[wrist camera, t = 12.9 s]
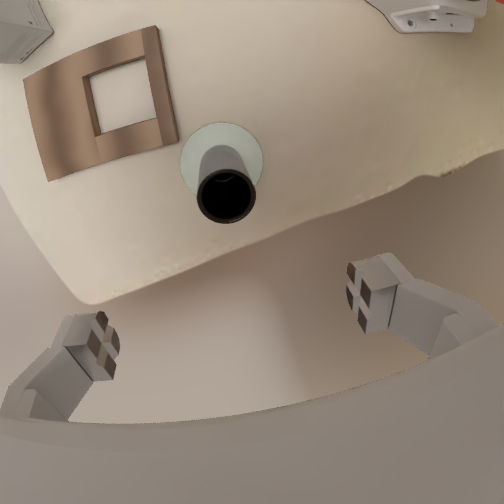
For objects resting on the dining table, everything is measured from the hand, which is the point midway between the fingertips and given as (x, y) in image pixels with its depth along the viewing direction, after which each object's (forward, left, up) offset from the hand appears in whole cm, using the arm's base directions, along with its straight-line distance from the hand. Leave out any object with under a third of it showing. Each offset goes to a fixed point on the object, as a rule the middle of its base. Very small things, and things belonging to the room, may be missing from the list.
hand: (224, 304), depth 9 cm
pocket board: (+11, -8, -25) cm, 29 cm away
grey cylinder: (-1, +2, -25) cm, 25 cm away
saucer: (-1, +2, -25) cm, 25 cm away
